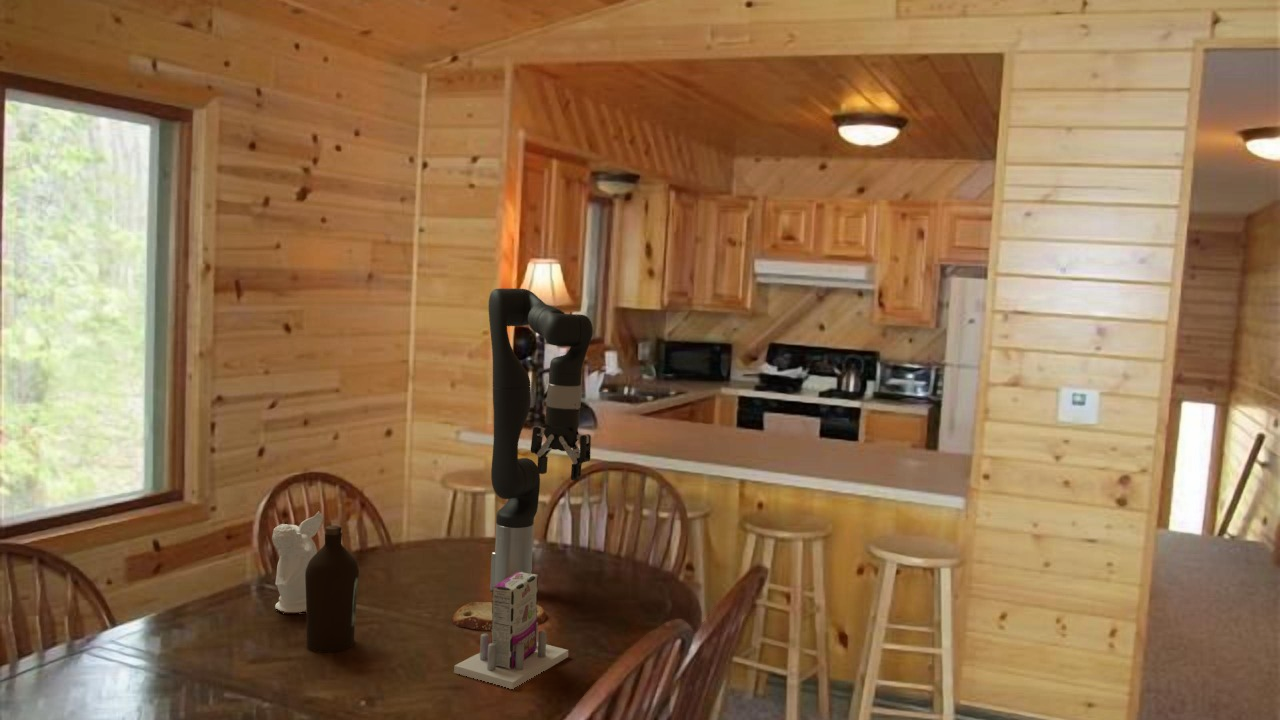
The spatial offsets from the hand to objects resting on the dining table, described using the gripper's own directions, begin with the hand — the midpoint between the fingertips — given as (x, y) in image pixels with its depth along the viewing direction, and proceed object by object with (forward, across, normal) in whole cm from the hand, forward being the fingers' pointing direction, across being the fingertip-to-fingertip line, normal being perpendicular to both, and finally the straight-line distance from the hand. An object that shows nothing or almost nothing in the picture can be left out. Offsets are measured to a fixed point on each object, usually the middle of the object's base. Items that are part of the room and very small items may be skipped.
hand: (558, 476), depth 221 cm
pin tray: (+34, +6, -22) cm, 41 cm away
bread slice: (+36, -12, -2) cm, 38 cm away
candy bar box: (+33, +6, -22) cm, 40 cm away
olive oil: (+36, -31, -35) cm, 59 cm away
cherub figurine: (+36, -55, -24) cm, 70 cm away
